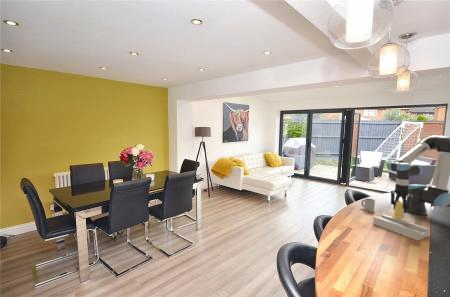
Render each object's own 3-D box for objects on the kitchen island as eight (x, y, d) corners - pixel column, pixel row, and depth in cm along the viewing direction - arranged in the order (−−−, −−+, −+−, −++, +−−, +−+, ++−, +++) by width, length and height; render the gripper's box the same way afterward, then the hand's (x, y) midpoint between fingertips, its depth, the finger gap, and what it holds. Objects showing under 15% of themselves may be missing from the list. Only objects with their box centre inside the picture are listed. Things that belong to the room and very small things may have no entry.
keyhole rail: (383, 220, 169) (383, 213, 168) (428, 235, 145) (429, 228, 144) (372, 223, 162) (373, 216, 162) (417, 240, 138) (418, 232, 138)
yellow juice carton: (398, 215, 167) (400, 200, 166) (405, 217, 164) (406, 201, 162) (393, 217, 164) (395, 201, 163) (400, 219, 161) (401, 203, 159)
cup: (371, 212, 184) (372, 201, 183) (358, 208, 192) (359, 198, 191) (375, 210, 188) (376, 200, 187) (362, 206, 196) (363, 197, 195)
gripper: (386, 182, 167) (384, 212, 170) (413, 188, 152) (410, 221, 155) (391, 181, 171) (389, 210, 173) (419, 186, 155) (416, 218, 158)
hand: (399, 215), depth 164 cm, fingers closed on yellow juice carton, 4 cm apart
